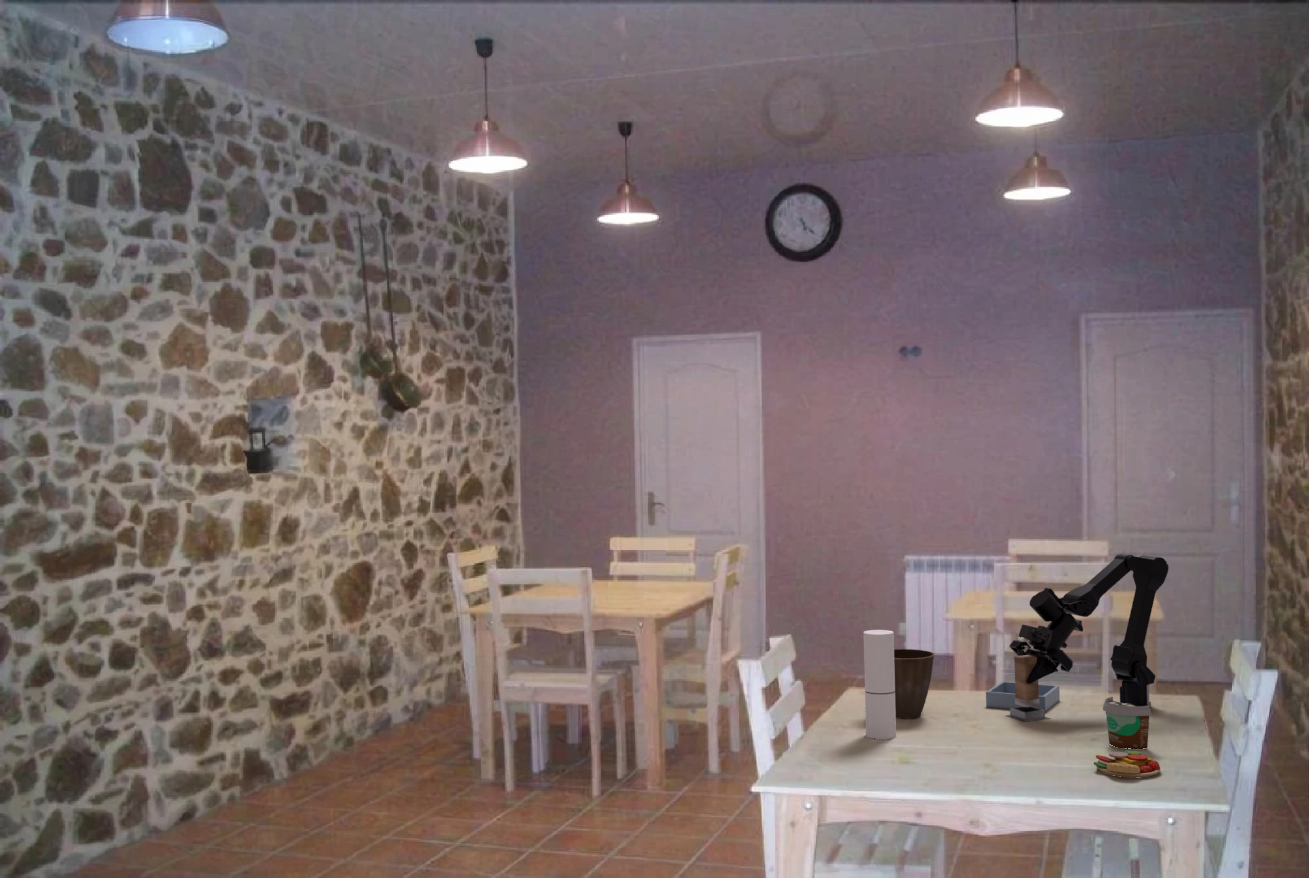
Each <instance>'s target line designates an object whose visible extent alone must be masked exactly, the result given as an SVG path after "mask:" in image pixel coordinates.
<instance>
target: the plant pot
mask: <svg viewBox="0 0 1309 878" xmlns="http://www.w3.org/2000/svg"><path fill="white" fill-rule="evenodd" d="M934 656H935V653H934V652H932V651H928V650H923V649H912V648H911V649H910V648H897V649H895V648H894V670H895V710H896V719H905V718H908V719H917V718H919V717H921V716H922V714H923V710H924V707H925V704H926V700H927V696H928V693H929V688H930V684H931V679H932V675H933V674H932V673H933V668H934V667H933V665H934Z"/></svg>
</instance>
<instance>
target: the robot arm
mask: <svg viewBox="0 0 1309 878" xmlns="http://www.w3.org/2000/svg"><path fill="white" fill-rule="evenodd" d="M1130 572H1132V579H1133V582H1134V585H1135V591H1134V594H1133V595H1134V596H1133V600H1132V603H1131V608H1130V613H1129V616H1128V622H1127V627H1126V630H1125V635H1124V639H1123V641H1122V642H1121V643H1120V645H1118V644H1115V645H1113V647H1112V655H1111V657H1110V658H1109V661H1111V665H1110V666H1111V668H1112V670H1113V672H1114V674H1115V677H1116V680H1119V681H1121V685H1120V687H1119V702H1120V703H1130V704H1133V705H1135V706H1150V705H1151V703H1152V702H1151V701H1150V685H1152V684H1154V683H1155V680H1156V674H1155V673H1154V672H1153V671H1152V670H1151V669H1150V668H1149V667H1148V654H1147V651H1146V648H1145V642H1146V638H1147V633H1148V628H1149V624H1150V619H1151V616H1152V615H1151V614H1152V610H1153V607H1154V601H1155V597H1156V593H1157V591H1158V590H1159V589H1160V588H1161V587H1162V586H1163V584H1165V580H1166V579H1167V576H1168V573H1169V564H1168V562H1167V561H1166V559H1165V558H1164V557H1160V556H1153V555H1152V556H1151V555H1144V554H1142V555H1140V556H1135V555H1132V554H1127V553H1119V554H1116V555H1115V557H1114V559H1113V560H1112V561H1110V563H1108V564H1107V565H1106V566H1105V567H1104V568H1102V569H1101V570H1100V571H1099V572H1098V573H1097V574H1095V576H1093V578H1091V579H1090V580H1089V581H1087V583H1085V584H1083V585H1081V586H1077V587H1075V588H1073V589H1071V590H1070V591H1068V592H1065V594H1064V595H1063V596H1062V597H1059V596H1058V595H1057V594H1056V592H1055V591H1054V590H1053V589H1052V588H1051V587H1050V588H1049V587H1045V588H1044V589H1043V590H1041V591H1039V592H1037V593H1036V594H1035V595H1033V596H1031V598H1030V600H1029V607H1031V609H1032V610H1033V611H1034V612H1035V613H1036V614H1037V615H1038V616H1039V617H1040V618H1041V619H1042V620H1043V621H1044V622H1046V623H1047V622H1049V623H1048V625H1047V627H1046V626H1044V625H1038V626H1037V627H1035V626H1032V625H1027V624H1021V626H1020V630H1019V633H1018V637H1019V638H1023V639H1026V640H1028V642H1027V641H1024V640H1020V639H1014V640H1012V642H1011V643H1010V644H1009V645H1008V646H1009V648H1010V650H1011V651H1013V652H1014V654H1016V656H1023V655H1030V656H1034V657H1037V663H1036V665H1035V667H1034V668H1033V670H1032V671H1031V673H1030V675H1029V676H1028V678H1027V680H1026V682H1027V683H1028V684H1031V683H1033V682H1035V681H1037V680H1038V681H1039V680H1040V679H1042V678H1044V677H1045V678H1046V677H1047V676H1048V675H1051V674H1054V673H1058V672H1059V669H1058V667H1059V666H1060V670H1061V671H1062V672H1067V673H1070V672H1071V670H1072V669H1073V667H1074V661H1073V660H1072V659H1071V658H1070V656H1068V654H1067V653H1066V652H1065V651H1064V650H1063V649H1066V648H1067V647H1068V644H1067V641H1068V640H1069V638H1070V636H1071V635H1072V633H1073V632H1074V631H1077V632H1081V633H1083V631H1084V627H1083V624H1082V623H1083V621H1082V620H1080V619H1077V618H1075V616H1078V617H1083V618H1088V617H1089V616H1091V615H1092V614H1093V612H1094V611H1096V609H1097V608H1098V606H1099V604H1100V601H1101V598H1102V597H1103V596H1104V595H1106V594H1107V592H1109V590H1111V589H1112V588H1113V587H1114V586H1115V585H1116V584H1118V582H1119V581H1121V580H1122V579H1123V578H1124V577H1125V576H1126V575H1127V574H1128V573H1130ZM1030 645H1031V646H1032V647H1031V646H1030ZM1061 648H1063V649H1061Z"/></svg>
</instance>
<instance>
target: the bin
mask: <svg viewBox="0 0 1309 878" xmlns="http://www.w3.org/2000/svg"><path fill="white" fill-rule="evenodd" d="M1038 690H1039V704H1040V705H1039V706H1033V707H1036V708H1039V709H1043V710H1045V713H1046V712H1047V711H1049V710H1050V709H1051V708H1053V707H1054V706H1055V705H1057V703H1059V702H1060V700H1061V698H1060V696H1061V695H1060V685H1053V684H1052V685H1051V684H1044V683H1043V684H1040V683H1038ZM985 702H986V703H985V705H986V706H985V707H986V708H992V709H993V708H994V709H1003V710H1004V709H1005V710H1010V708H1015V707H1023V706H1020V705H1017V704H1015V681H1001V682H999V683H997V684H996V685H995V686H992V687H991V688H990V689H988V690H987V691H985Z"/></svg>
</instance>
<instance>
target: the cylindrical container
mask: <svg viewBox="0 0 1309 878" xmlns="http://www.w3.org/2000/svg"><path fill="white" fill-rule="evenodd" d="M894 633H895V632H894V631H893V630H887V629H870V630H864V631H863V633H862V634H863V665H864V666H863V667H864V668H863V669H864V670H863V671H864V699H865V700H864V701H865V703H864V704H865V707H864V708H865V711H864V712H865V736H867V737H866V738H868V737H869V738H868V739H872V738H873V739H874V738H875V739H874V740H891V739H895V738H897V718H896V710H895V670H894V649H895V641H894V640H895V639H894V638H895V637H894Z"/></svg>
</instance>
